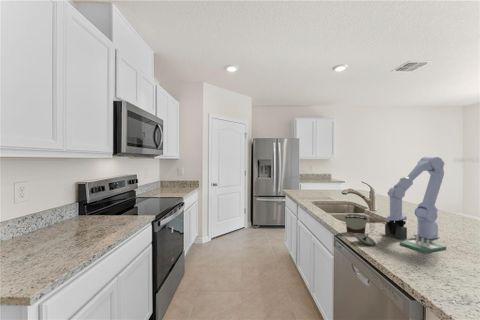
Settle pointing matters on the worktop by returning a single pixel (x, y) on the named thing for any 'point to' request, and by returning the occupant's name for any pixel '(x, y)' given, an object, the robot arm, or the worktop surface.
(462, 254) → the worktop surface
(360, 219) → the food container
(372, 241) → the lid
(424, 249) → the header board
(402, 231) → the plug housing
